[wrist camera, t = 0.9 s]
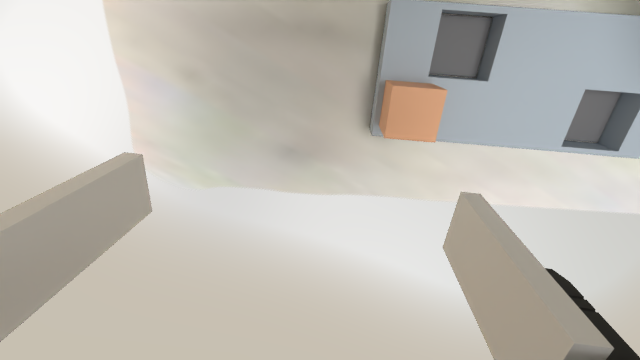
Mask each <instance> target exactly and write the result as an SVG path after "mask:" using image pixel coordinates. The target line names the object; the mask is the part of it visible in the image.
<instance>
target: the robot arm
mask: <svg viewBox="0 0 640 360" xmlns="http://www.w3.org/2000/svg"><path fill="white" fill-rule="evenodd" d="M151 212H152V207H151V201H150V196H149V190H148V184H147V179H146V173H145V167H144V161H143V155H142V154H134V153H122V154H120V155H119V156H116V157H114V158H112V159H110V160H108V161H106V162H104V163H102V164H100V165H98V166H96V167H94V168H92V169H90V170H88V171H86V172H84V173H82V174H80V175H78V176H76V177H74V178H72V179H70V180H68V181H66V182H63V183H62V184H60V185H57V186H55V187H54V188H52V189H49V190H47V191H45V192H43V193H41V194H39V195H37V196H35V197H33V198H31V199H29V200H27V201H25V202H23V203H21V204H19V205H17V206H15V207H13V208H11V209H9V210H7V211H5V212H3V213H1V214H0V342H1V341H2V340H3V339H4V338H5V337H7V336H8V335H9V334H10V333H11V332H12V331H14V330H15V329H16V328H17V327H18V326H19V325H21V324H22V323H23V322H24V321H25V320H26V319H28V318H29V317H30V316H31V315H32V314H33V313H34V312H36V311H37V310H38V309H39V308H40V307H41V306H42V305H44V304H45V303H46V302H47V301H48V300H49V299H51V298H52V297H53V296H54V295H55V294H56V293H58V292H59V291H60V290H61V289H62V288H64V287H65V286H66V285H67V284H68V283H69V282H70V281H72V280H73V279H74V278H75V277H76V276H77V275H79V274H80V272H82V271H83V270H84V269H85V268H87V267H88V266H89V265H90V264H91V263H93V262H94V261H95V260H96V259H97V258H98V257H100V256H101V255H102V254H103V253H104V252H105V251H107V250H108V249H109V248H110V247H111V246H112V245H113V244H114V243H116V242H117V241H118V240H119V239H120V238H122V237H123V236H124V235H125V234H126V233H127V232H129V231H130V230H131V229H132V228H133V227H134V226H136V225H137V224H138V223H139V222H140V221H141V220H143V219H144V218H145V217H146V216H147V215H148V214H150V213H151ZM443 249H444V251H445V253H446V256H447V258H448V260H449V262H450V264H451V267H452V269H453V271H454V273H455V275H456V278H457V280H458V282H459V284H460V286H461V288H462V291H463V293H464V295H465V297H466V299H467V302H468V304H469V306H470V308H471V310H472V312H473V315H474V317H475V319H476V321H477V323H478V326H479V328H480V330H481V332H482V334H483V336H484V339H485V340H486V343H487V345H488V347H489V349H490V352H491V354H492V356H493V358H494V360H640V358H639V356H638V355H637V354H636V353H635V352H634V351H633V350H632V349H631V348H630V347H629V345H628V344H627V343H626V342H625V341H624V340H623V339H622V338H621V337H620V336H619V335H618V334H617V332H616V331H615V330H614V329H613V328H612V327H611V326H610V325H609V324H608V323H607V322H606V321H605V320H604V318H603V317H602V316H601V315H600V314H599V313H597V312H595V309H594V308H593V306H592V305H591V304H590V303H589V302H588V301H587V300H584V297H583V296H582V295H581V294H580V292H579V291H578V290H577V289H576V288H575V287H574V286H573V285H572V284H571V283H570V282H569V281H568V280H566V279H565V278H564V277H562V276H561V275H559V274H558V273H557V272H555V271H554V270H552V269H547V268H544V267H543V266H542V265H541V264H540V262H539V261H538V260H537V259H536V258H535V257H534V256H533V254H532V253H531V252H530V251H529V250H528V248H527V247H526V246H525V245H524V244H523V243H522V242H521V240H520V239H519V238H518V237H517V236H516V235H515V233H514V232H513V231H512V230H511V229H510V228H509V227H508V225H507V224H506V223H505V222H504V221H503V220H502V219H501V218H500V216H499V215H498V214H497V213H496V212H495V211H494V209H493V208H492V207H491V206H490V205H489V204H488V202H487V201H486V200H485V199H484V198H483V197H482V195H481V194H476V193H467V192H461V193H460V196H459V199H458V202H457V205H456V208H455V211H454V214H453V217H452V221H451V224H450V227H449V230H448V233H447V236H446V239H445V242H444V245H443Z"/></svg>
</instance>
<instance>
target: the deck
mask: <svg viewBox="0 0 640 360" xmlns="http://www.w3.org/2000/svg"><path fill="white" fill-rule="evenodd" d="M441 13H447V14H461V15H474V16H488V17H493V18H487V17H473V16H459V15H446V14H441ZM491 21H492V22H491ZM490 25H491V26H490ZM488 32H489V33H488ZM487 36H488V37H487ZM485 43H486V44H485ZM484 47H485V48H484ZM482 54H483V55H482ZM481 58H482V59H481ZM479 65H480V66H479ZM478 69H479V70H478ZM429 74H438V75H451V76H463V77H476V76H477V77H476V78H463V77H451V76H438V75H429ZM386 80H393V81H405V82H418V83H430V84H435V85H437V86H439V87H442V88H444V89H446V90H448V91H447V95H446V99H445V103H444V107H443V112H442V116H441V120H440V124H439V128H438V133H437V137H436V141H441V142H453V143H464V144H476V145H487V146H499V147H510V148H522V149H533V150H545V151H556V152H568V153H579V154H590V155H602V156H613V157H625V158H636V159H640V16H634V15H620V14H606V13H592V12H578V11H564V10H550V9H536V8H522V7H507V6H493V5H479V4H465V3H451V2H437V1H423V0H390V1H389V2H388V3H387V10H386V17H385V24H384V31H383V38H382V45H381V52H380V60H379V67H378V74H377V81H376V88H375V95H374V102H373V109H372V116H371V123H370V131H371V134H372V136H383V134H382V132H381V129H380V127H379V122H380V115H381V109H382V102H383V96H384V89H385V83H386ZM566 140H573V141H566ZM578 141H584V142H578ZM589 142H596V143H589Z"/></svg>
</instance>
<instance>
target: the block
mask: <svg viewBox="0 0 640 360" xmlns="http://www.w3.org/2000/svg"><path fill="white" fill-rule="evenodd" d="M447 91H448V90H446V89H444V88H442V87H439V86H437V85H435V84H430V83H418V82H405V81H393V80H386V83H385V89H384V96H383V102H382V109H381V115H380V122H379V127H380V129H381V132H382V134H383V136H384V138H390V139H401V140H413V141H424V142H435V141H436V137H437V133H438V128H439V124H440V120H441V116H442V112H443V107H444V103H445V99H446V95H447Z"/></svg>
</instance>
